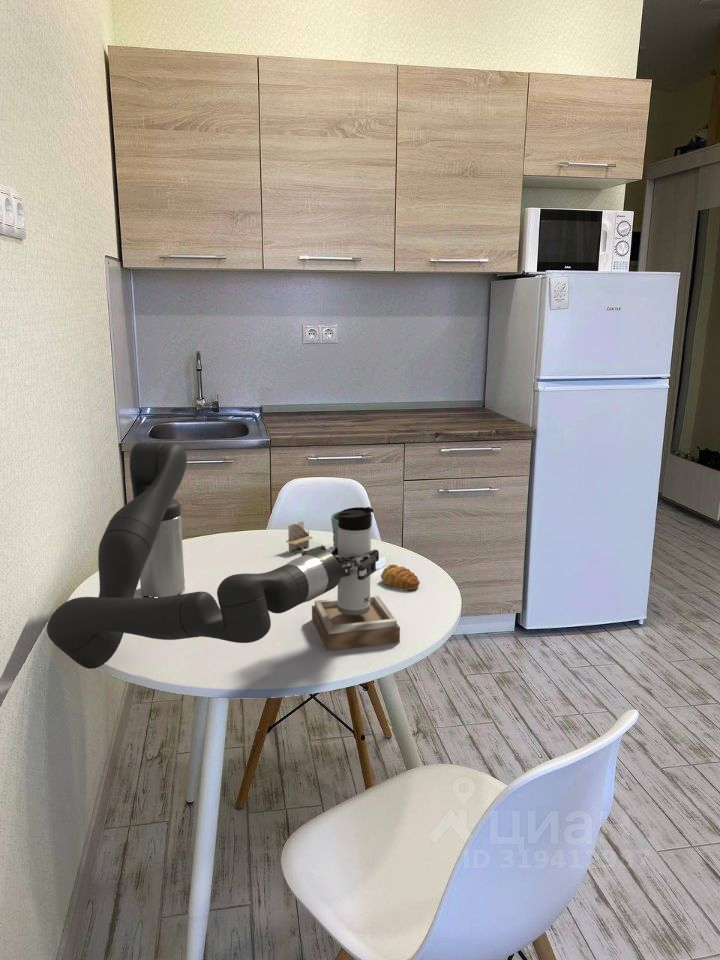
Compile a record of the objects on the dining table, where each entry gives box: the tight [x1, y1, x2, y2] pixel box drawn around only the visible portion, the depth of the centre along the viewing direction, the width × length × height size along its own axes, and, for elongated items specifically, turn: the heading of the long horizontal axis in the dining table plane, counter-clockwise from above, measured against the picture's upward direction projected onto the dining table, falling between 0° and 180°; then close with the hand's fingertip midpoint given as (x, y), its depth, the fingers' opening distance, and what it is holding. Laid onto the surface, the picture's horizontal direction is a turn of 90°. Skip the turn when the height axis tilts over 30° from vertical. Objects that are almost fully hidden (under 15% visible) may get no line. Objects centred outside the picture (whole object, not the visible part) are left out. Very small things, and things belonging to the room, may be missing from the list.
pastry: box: [380, 563, 421, 591], centre depth 161 cm, size 9×7×4 cm
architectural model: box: [285, 520, 314, 552], centre depth 184 cm, size 3×7×7 cm, turn 141°
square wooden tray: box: [311, 594, 401, 652], centre depth 137 cm, size 14×14×4 cm
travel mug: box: [337, 506, 374, 616], centre depth 134 cm, size 6×7×20 cm
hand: (361, 551), depth 136 cm, fingers closed on travel mug, 6 cm apart
